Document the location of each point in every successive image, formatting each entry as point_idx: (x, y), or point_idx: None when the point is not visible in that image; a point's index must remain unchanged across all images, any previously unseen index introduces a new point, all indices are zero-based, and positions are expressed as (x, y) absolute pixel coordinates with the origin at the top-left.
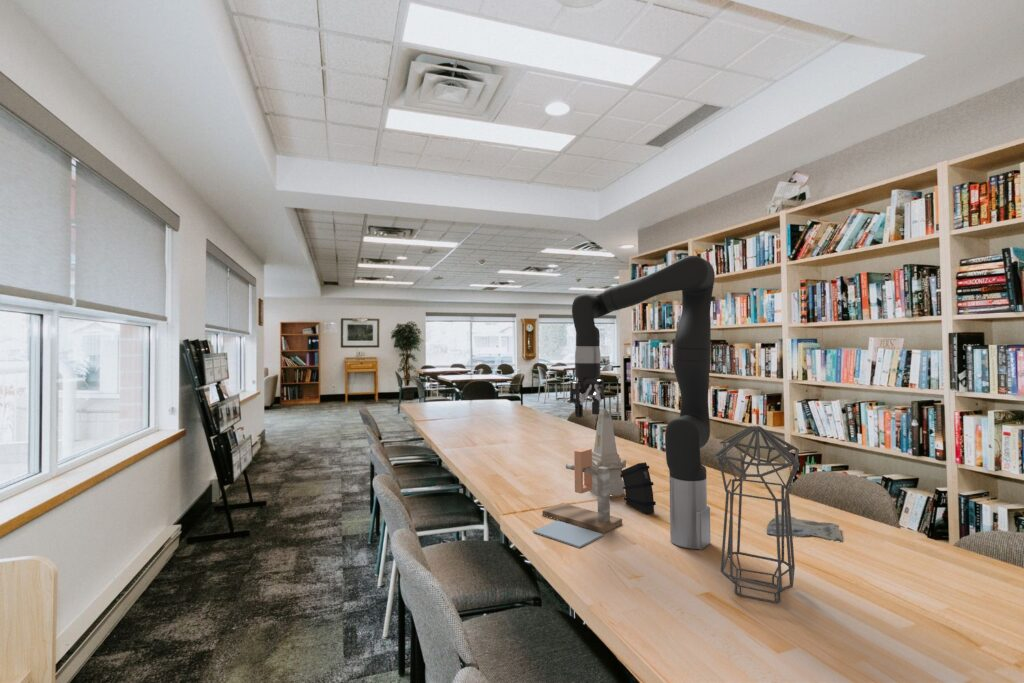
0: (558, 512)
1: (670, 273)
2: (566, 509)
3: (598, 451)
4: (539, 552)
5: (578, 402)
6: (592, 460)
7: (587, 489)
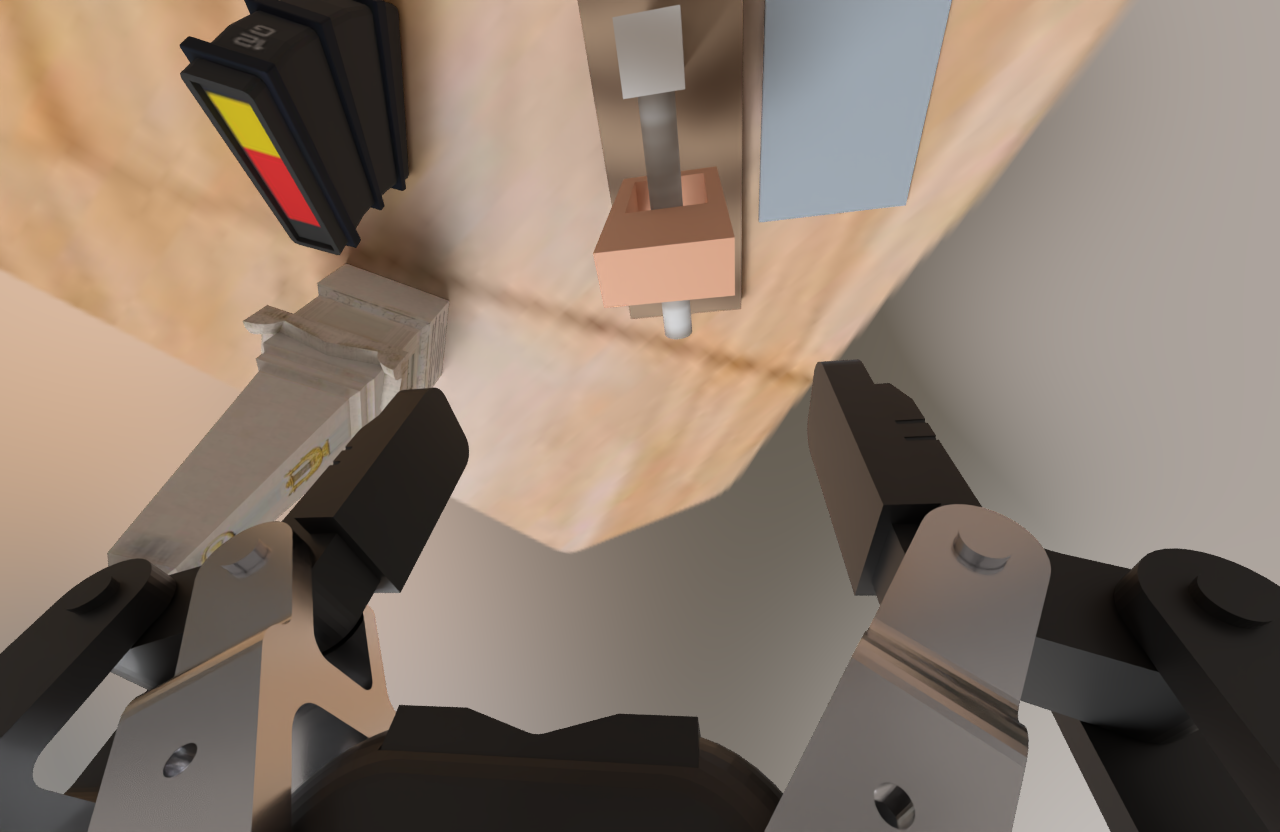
0: None
1: None
2: None
3: (345, 426)
4: (1096, 12)
5: (1155, 560)
6: None
7: None
